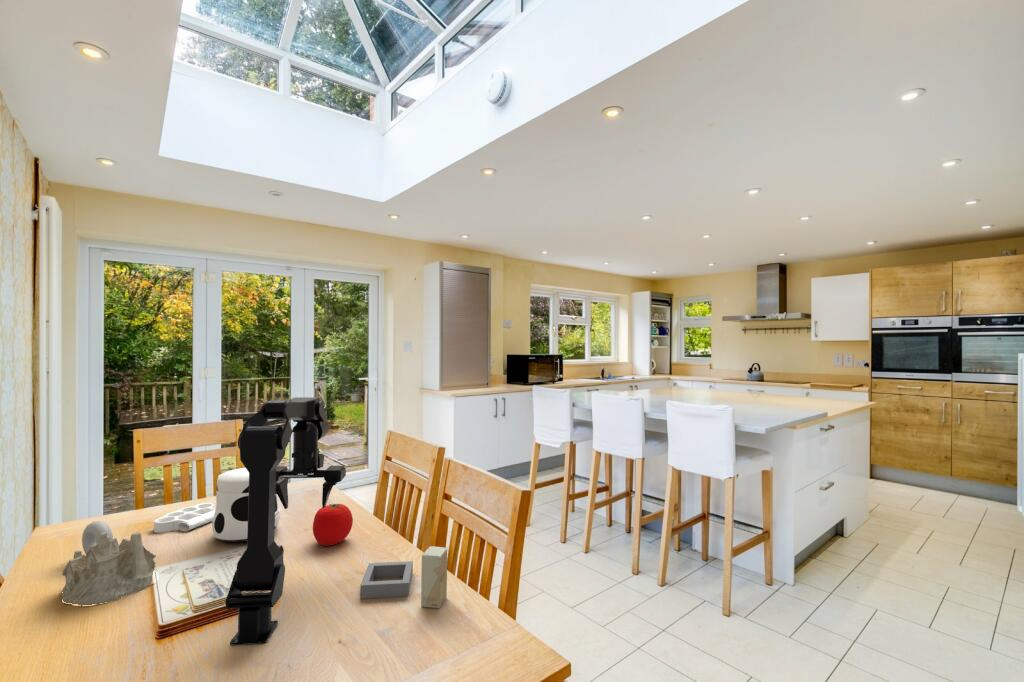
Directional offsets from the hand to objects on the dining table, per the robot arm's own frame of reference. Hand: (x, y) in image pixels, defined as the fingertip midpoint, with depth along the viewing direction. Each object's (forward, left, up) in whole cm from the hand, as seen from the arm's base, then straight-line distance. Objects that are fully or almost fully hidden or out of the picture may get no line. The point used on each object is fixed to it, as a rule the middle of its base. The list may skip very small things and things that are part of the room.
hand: (305, 508), depth 119 cm
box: (-20, -33, -15) cm, 42 cm away
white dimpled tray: (+34, +45, -15) cm, 58 cm away
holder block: (-12, -22, -15) cm, 29 cm away
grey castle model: (-6, +41, -15) cm, 44 cm away
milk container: (+22, +23, -15) cm, 35 cm away
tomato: (+14, -3, -15) cm, 20 cm away
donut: (+9, +54, -15) cm, 56 cm away
